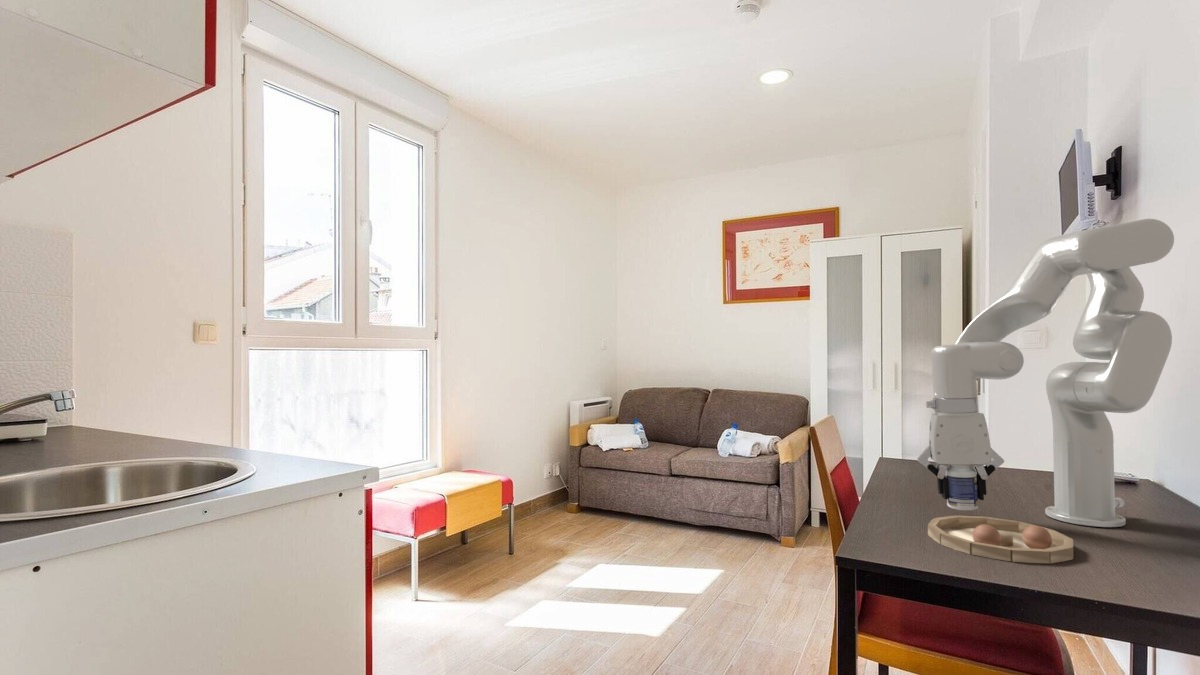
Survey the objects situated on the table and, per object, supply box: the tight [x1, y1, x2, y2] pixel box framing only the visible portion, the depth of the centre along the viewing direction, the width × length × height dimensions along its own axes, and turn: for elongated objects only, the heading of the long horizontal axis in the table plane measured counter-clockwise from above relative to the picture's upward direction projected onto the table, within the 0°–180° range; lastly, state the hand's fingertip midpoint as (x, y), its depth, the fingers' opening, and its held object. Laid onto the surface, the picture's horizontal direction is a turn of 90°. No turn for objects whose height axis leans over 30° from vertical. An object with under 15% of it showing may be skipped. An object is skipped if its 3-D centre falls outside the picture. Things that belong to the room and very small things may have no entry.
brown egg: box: [972, 524, 1001, 546], centre depth 99 cm, size 4×4×4 cm
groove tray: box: [927, 515, 1074, 564], centre depth 103 cm, size 20×20×3 cm
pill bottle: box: [945, 465, 979, 511], centre depth 119 cm, size 5×5×10 cm
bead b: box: [1022, 524, 1052, 549], centre depth 99 cm, size 4×4×4 cm
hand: (962, 497), depth 119 cm, fingers closed on pill bottle, 5 cm apart
